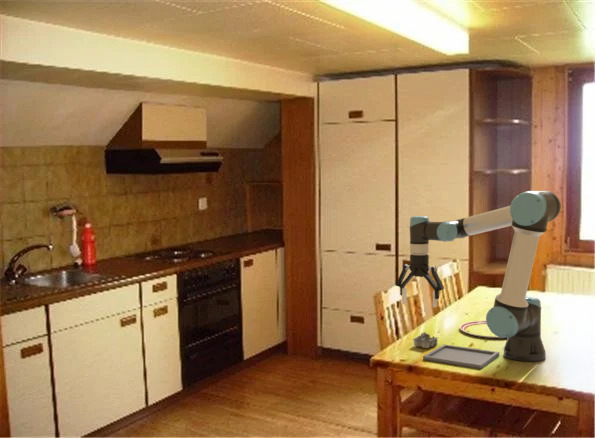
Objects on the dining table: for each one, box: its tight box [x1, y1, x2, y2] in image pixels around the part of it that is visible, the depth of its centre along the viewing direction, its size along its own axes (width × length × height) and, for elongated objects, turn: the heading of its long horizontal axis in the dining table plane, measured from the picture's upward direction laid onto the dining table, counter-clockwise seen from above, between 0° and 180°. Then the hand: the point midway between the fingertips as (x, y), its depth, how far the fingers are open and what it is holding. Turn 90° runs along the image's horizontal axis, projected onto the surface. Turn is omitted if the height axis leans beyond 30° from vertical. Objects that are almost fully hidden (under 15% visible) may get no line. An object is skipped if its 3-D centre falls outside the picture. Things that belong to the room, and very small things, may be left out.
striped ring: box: [459, 320, 508, 339], centre depth 274 cm, size 27×27×3 cm
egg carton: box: [412, 331, 438, 349], centre depth 256 cm, size 11×8×4 cm
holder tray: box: [422, 344, 500, 370], centre depth 238 cm, size 22×20×2 cm
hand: (419, 305), depth 256 cm, fingers open, 13 cm apart
